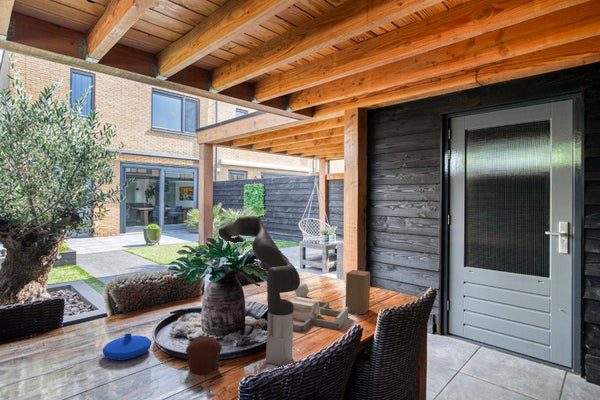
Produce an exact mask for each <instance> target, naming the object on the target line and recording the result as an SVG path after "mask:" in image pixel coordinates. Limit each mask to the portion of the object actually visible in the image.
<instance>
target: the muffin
mask: <svg viewBox="0 0 600 400" xmlns="http://www.w3.org/2000/svg"><path fill="white" fill-rule="evenodd" d="M222 347H223V346H222V344H221V343H220V341H219V340H217V339H216V338H215V337H212V336H207V335H205V336H204V335H203V336H200V337H196V338H195V339H193V340H192V341H191V342H190V343H189V344H188V345H187V347H186V349H185V353H186V354H187V359H188V367H189V371H191V374H192V375H197V376H205V375H209V374H211V373H213V372H216V370H217V368H218V366H219V365H218V364H219V360H220V355H221V351H222V349H223V348H222Z"/></svg>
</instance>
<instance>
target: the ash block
mask: <svg viewBox="0 0 600 400" xmlns="http://www.w3.org/2000/svg"><path fill="white" fill-rule="evenodd" d="M289 301H290V302H292V303H293V305H294V314H293V319H297V320H299V321H300V320H301V321H304V322H305V321H306V320H308V319H309V318H315V319H317V317H318V316H320V312H319V301H320V299H319V300H318V299H312V298H307V297H306V298H303V297H297V296H296V297H294V298H292V299H291V300H289Z"/></svg>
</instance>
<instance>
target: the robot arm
mask: <svg viewBox="0 0 600 400" xmlns="http://www.w3.org/2000/svg"><path fill="white" fill-rule="evenodd" d="M218 235H219V237H220V238H221V239H222V240H224V241H225V242H226V243H228V242H227V241H231V242H233V243H237V242H243V241H245V240H244V238H243V237H244V236H245V237H250V236H251V237H254V240H253V242H252V247H251V249H252V251H253V252H254V253H255V255H256V259H257V262H256V263H255V264H254V265H255V266H259V267H261V268H263V269H264V270H265V267H264V265H265V266H267V267H269V269H268V270H267V273H266V277H267V280H266V292H267V293H266V297H267V298H266V301H267V329H266V330H267V335H266V346H265V347H266V353H265V363H267V364H272V365H275V366H279V367H283V366H285V365H287V364H289V363H291V362H292V361H293V349H294V348H293V345H294V343H293V342H294V341H293V340H294V330H293V320H294V318H293V314H294V305H293V303H292V302H290V301H291V300H288V299H285V298H281V294H283V293H289V292H290V293H291V292H295V290H296V289H298V287H299V285H300V283H301V279H300V275H299V272H298V270H297V269H296V267H295V266H294V265H293V264H292V263H291V262H290V261H289V260H288V259H287V257H286V256H285V255H284V253H282V251H281V250H280V249H279V247H278V246H277V244H276V243H275V241H274V240H273V239H272V237H271V236H270V235H269V233H268V231H267V230H266V228H265V226H264V223H263V221H262V220H261V218H260V217H258V216H257V215H240V216H239V217H237V219H236V220H235V221H230V222H228V223H227V224H225V225H223V226H221V227H220V228H218ZM242 236H243V237H242ZM245 250H246V249H245Z"/></svg>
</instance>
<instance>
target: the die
mask: <svg viewBox="0 0 600 400" xmlns="http://www.w3.org/2000/svg"><path fill="white" fill-rule="evenodd" d="M309 291H310V289H309V287H308V284H307V283H303V282H302V283H301V282H300V285H299V287H298V289H296V290H295V291H294V292H295V296H296V297H303V298H307V296H308V294H309Z"/></svg>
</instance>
